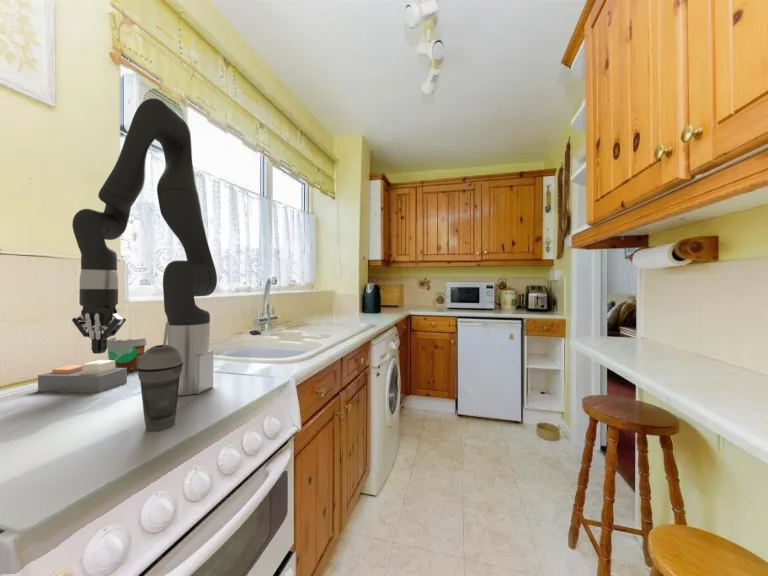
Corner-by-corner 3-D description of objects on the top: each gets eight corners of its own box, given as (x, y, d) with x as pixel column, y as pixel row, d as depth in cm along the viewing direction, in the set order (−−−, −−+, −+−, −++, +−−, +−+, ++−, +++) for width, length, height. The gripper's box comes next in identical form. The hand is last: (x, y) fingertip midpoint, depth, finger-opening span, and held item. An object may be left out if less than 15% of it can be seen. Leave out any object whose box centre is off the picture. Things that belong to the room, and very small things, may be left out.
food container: (93, 372, 95) (93, 340, 94) (113, 367, 101) (114, 336, 101) (127, 375, 92) (127, 341, 92) (146, 369, 99) (146, 338, 98)
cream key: (115, 373, 84) (115, 360, 84) (99, 378, 79) (99, 364, 79) (99, 372, 84) (99, 360, 84) (82, 377, 80) (82, 364, 80)
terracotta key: (86, 378, 84) (86, 365, 84) (69, 383, 80) (69, 369, 80) (70, 377, 84) (70, 364, 84) (52, 382, 80) (52, 369, 80)
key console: (126, 382, 86) (126, 368, 86) (99, 392, 78) (99, 376, 78) (71, 381, 86) (71, 366, 86) (38, 391, 78) (38, 375, 78)
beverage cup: (153, 418, 63) (153, 320, 63) (190, 417, 64) (190, 320, 63) (126, 435, 56) (126, 324, 56) (169, 434, 56) (169, 324, 56)
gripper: (135, 287, 85) (135, 350, 85) (89, 287, 86) (89, 349, 86) (110, 287, 78) (110, 356, 78) (60, 287, 78) (59, 355, 78)
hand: (99, 353), depth 82 cm, fingers closed
